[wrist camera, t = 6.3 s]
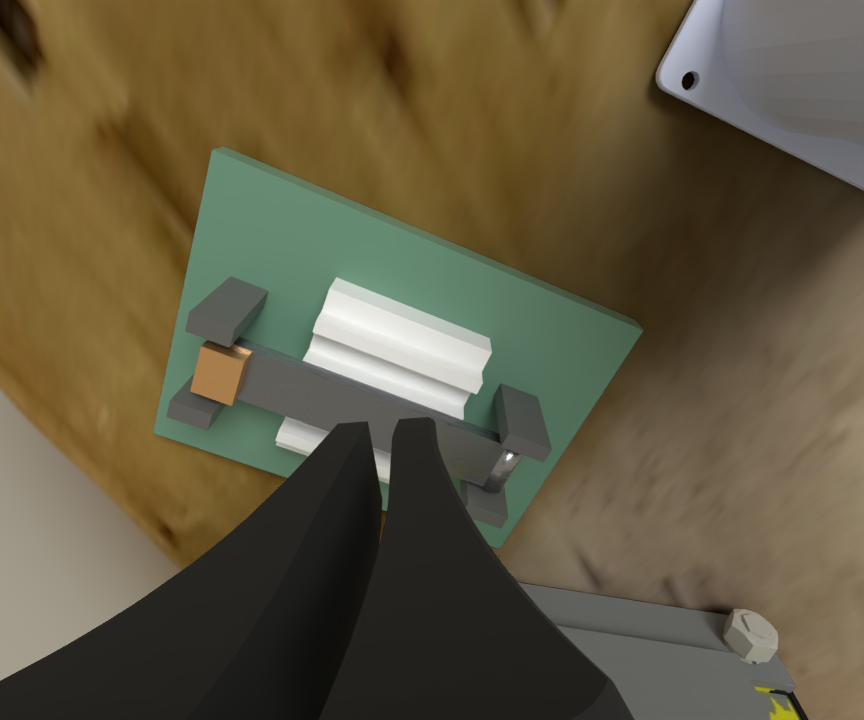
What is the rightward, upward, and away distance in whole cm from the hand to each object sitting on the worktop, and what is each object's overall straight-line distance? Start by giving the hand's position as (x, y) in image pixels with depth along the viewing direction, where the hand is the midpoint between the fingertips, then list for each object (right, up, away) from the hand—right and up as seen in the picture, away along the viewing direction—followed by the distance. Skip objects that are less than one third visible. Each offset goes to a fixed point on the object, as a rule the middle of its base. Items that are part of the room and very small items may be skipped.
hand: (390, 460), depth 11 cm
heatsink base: (-1, +1, +11) cm, 11 cm away
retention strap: (-1, 0, +8) cm, 8 cm away
